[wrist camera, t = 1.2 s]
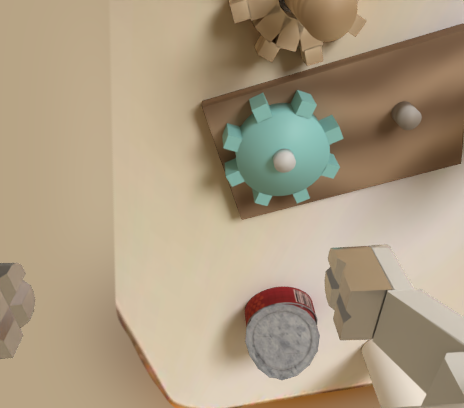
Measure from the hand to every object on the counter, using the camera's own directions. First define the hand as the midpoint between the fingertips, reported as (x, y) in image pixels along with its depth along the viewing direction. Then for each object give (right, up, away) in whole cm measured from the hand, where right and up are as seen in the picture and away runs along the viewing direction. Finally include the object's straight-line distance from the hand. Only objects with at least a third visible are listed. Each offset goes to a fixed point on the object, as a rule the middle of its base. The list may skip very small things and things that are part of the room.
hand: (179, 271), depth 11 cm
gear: (+6, +8, +29) cm, 30 cm away
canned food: (+8, -13, +47) cm, 49 cm away
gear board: (+12, +9, +30) cm, 33 cm away
